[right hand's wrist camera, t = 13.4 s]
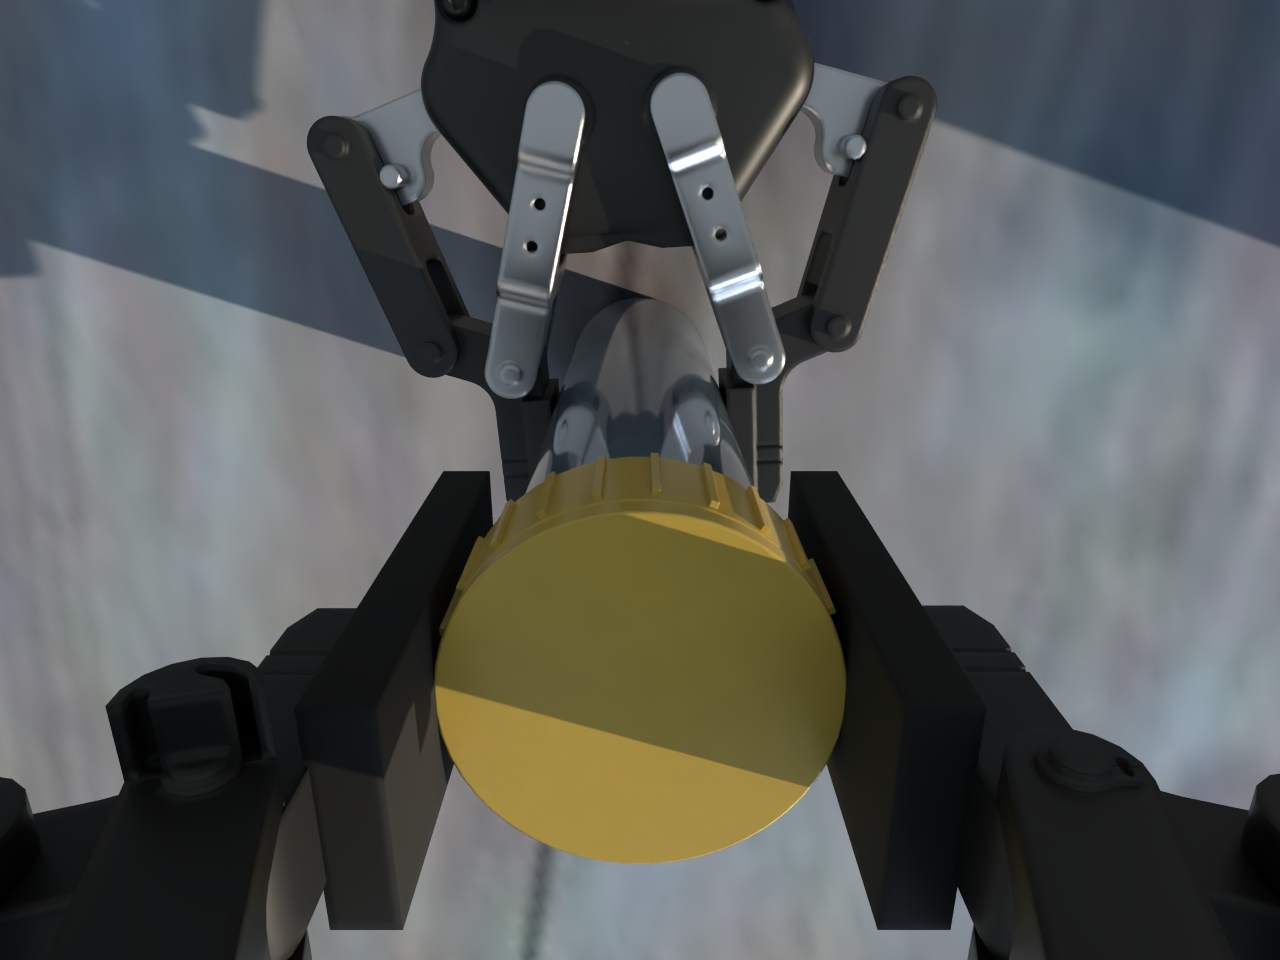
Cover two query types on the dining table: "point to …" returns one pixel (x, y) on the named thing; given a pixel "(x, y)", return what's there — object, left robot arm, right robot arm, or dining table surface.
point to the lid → (640, 663)
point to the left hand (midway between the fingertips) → (645, 517)
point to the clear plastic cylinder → (639, 396)
